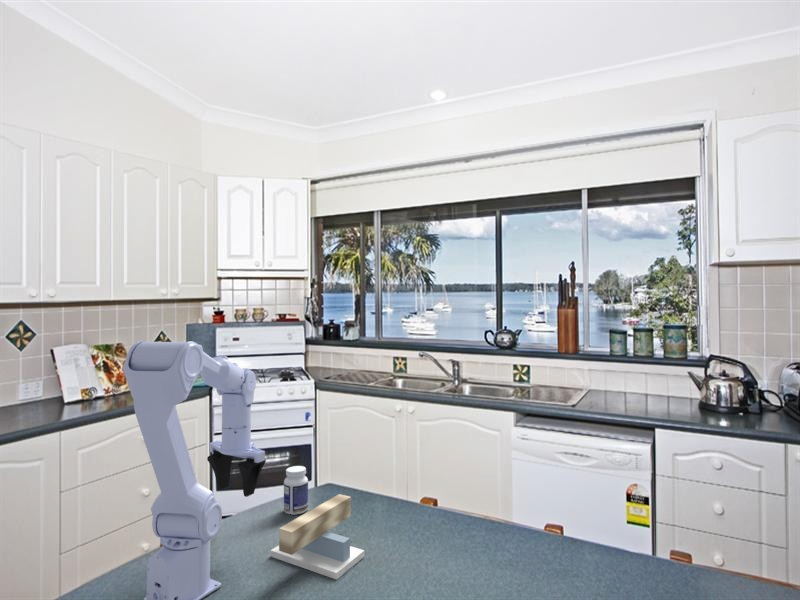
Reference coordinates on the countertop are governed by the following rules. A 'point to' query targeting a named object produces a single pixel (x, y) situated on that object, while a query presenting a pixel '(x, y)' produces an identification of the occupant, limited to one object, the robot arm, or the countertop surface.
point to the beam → (314, 524)
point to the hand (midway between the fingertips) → (236, 491)
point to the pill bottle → (295, 490)
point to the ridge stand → (324, 555)
